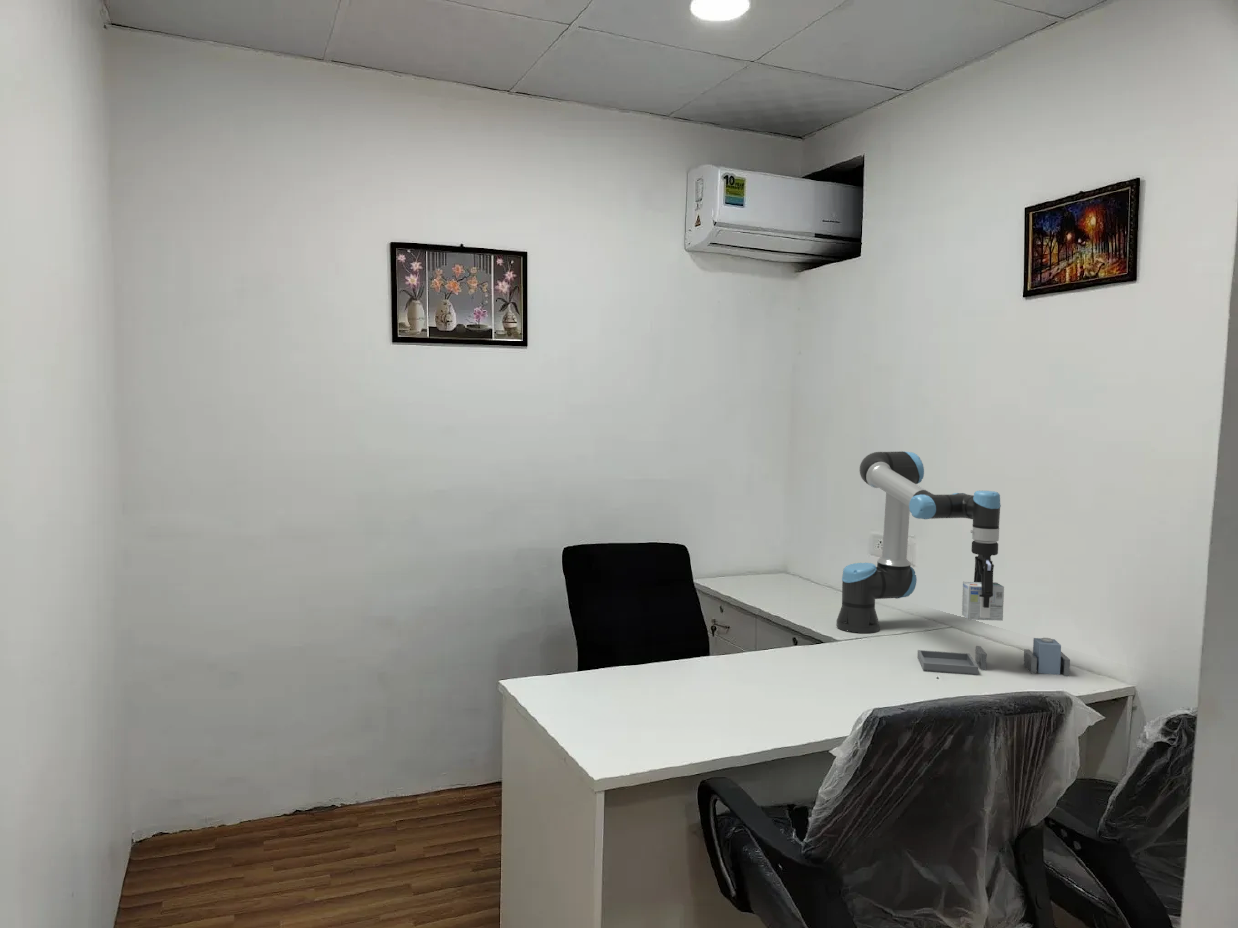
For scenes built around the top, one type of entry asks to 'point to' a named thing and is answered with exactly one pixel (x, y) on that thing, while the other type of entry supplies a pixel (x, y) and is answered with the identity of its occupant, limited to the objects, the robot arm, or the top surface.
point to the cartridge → (1047, 655)
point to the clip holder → (1029, 661)
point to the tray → (947, 662)
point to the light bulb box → (973, 600)
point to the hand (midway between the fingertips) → (981, 614)
